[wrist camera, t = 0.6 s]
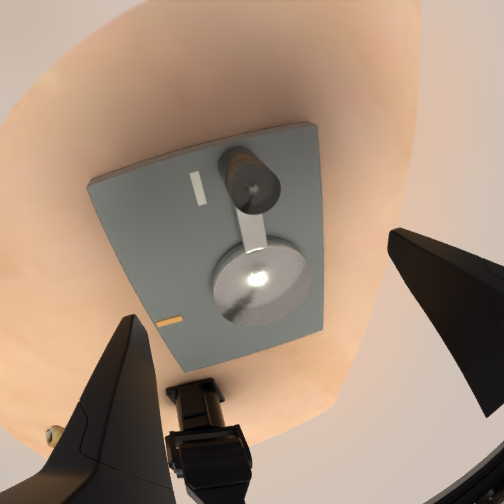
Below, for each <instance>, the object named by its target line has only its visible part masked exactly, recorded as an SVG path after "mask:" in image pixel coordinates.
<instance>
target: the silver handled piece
mask: <svg viewBox="0 0 504 504" xmlns="http://www.w3.org/2000/svg"><path fill="white" fill-rule="evenodd" d="M218 172H219V174H220V177H221V179H222V181H223V183H224V185H225V187H226V189H227V191H228V193H229V195H230V197H231V199H232V201H233V205H234V210H235V214H236V219H237V223H238V228H239V233H240V237H241V242H242V244H240V245H238V246H236V247H235V248H233V249H232V250H230V251H229V252H228V253H227V254H226V255H225V256H224V257H223V258H222V259H221V260H220V261H219V263H218V264H217V266H216V268H215V270H214V272H213V275H212V281H211V287H212V292H213V296H214V300H215V304H216V307H217V309H218V311H219V313H220V314H221V315H222V316H223V317H224V318H225V319H227V320H228V321H230V322H232V323H234V324H237V325H242V326H261V325H266V324H269V323H273V322H275V321H278V320H280V319H282V318H284V317H285V316H287V315H288V314H290V313H291V312H293V311H294V310H295V309H296V308H297V307H298V306H299V305H300V304H301V303H302V302H303V300H304V299H305V297H306V296H307V294H308V292H309V289H310V286H311V281H312V275H311V270H310V267H309V265H308V263H307V262H306V260H305V259H304V257H303V256H302V254H301V253H300V252H299V250H298V249H297V248H296V247H295V246H294V245H293V244H291V243H289V242H287V241H285V240H282V239H279V238H272V237H266V234H265V228H264V222H263V215H262V213H265V212H267V211H268V210H270V209H271V208H272V207H273V206H274V205H275V204H276V203H277V201H278V199H279V197H280V194H281V184H280V181H279V179H278V177H277V176H276V175H275V174H274V173H273V172H272V171H271V170H270V169H269V168H268V167H267V166H266V165H265V164H264V163H263V162H262V161H261V160H260V159H259V158H258V157H257V156H256V155H255V154H254V153H253V152H252V151H251V150H250V149H248V148H246V147H242V146H236V147H232V148H230V149H228V150H226V151H225V152H224V153H223V154H222V155H221V157H220V159H219V161H218Z"/></svg>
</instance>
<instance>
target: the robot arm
mask: <svg viewBox="0 0 504 504" xmlns="http://www.w3.org/2000/svg"><path fill="white" fill-rule="evenodd" d="M387 251H388V254H389V256H390V258H391V259H392V261H393V263H394V265H395V266H396V268H397V270H398V271H399V273H400V275H401V277H402V278H403V280H404V282H405V284H406V285H407V287H408V288H409V290H410V291H411V293H412V294H413V296H414V297H415V299H416V300H417V301H418V303H419V304H420V306H421V307H422V309H423V310H424V312H425V313H426V315H427V316H428V318H429V319H430V321H431V322H432V324H433V325H434V327H435V329H436V330H437V332H438V333H439V335H440V336H441V338H442V340H443V341H444V343H445V345H446V346H447V348H448V349H449V351H450V353H451V354H452V356H453V358H454V359H455V361H456V363H457V365H458V366H459V368H460V370H461V372H462V373H463V375H464V377H465V379H466V381H467V383H468V384H469V386H470V388H471V390H472V392H473V394H474V395H475V397H476V399H477V401H478V403H479V405H480V407H481V409H482V411H483V413H484V415H485V417H486V418H488V417H489V416H490V415H491V414H492V413H494V412H495V411H496V410H497V409H498V408H499V407H500V406H502V405H503V404H504V266H502V265H499V264H497V263H494V262H491V261H489V260H487V259H484V258H481V257H479V256H477V255H474V254H472V253H469V252H466V251H464V250H461V249H459V248H456V247H453V246H451V245H448V244H445V243H443V242H440V241H437V240H434V239H432V238H429V237H426V236H423V235H420V234H418V233H415V232H411V231H409V230H406V229H403V228H396V229H393V230H391V231H390V232H389V238H388V247H387ZM166 394H167V396H168V397H169V398H170V399H171V400H172V401H173V402H174V403H175V405H176V408H177V415H178V421H179V427H180V431H178V432H174V431H169V432H170V435H168V436H166V437H165V441H166V448H167V456H166V450H165V444H164V438H163V431H162V424H161V417H160V409H159V401H158V392H157V382H156V375H155V369H154V365H153V360H152V355H151V349H150V344H149V339H148V334H147V331H146V329H145V328H144V326H143V325H142V323H141V322H140V320H139V319H138V317H137V316H136V315H135V314H131V315H128V316H125V317H123V318H122V320H121V321H120V323H119V325H118V327H117V329H116V330H115V332H114V334H113V336H112V338H111V339H110V341H109V343H108V345H107V347H106V349H105V350H104V352H103V354H102V356H101V358H100V360H99V362H98V364H97V366H96V368H95V369H94V371H93V373H92V375H91V377H90V379H89V381H88V383H87V385H86V387H85V389H84V391H83V393H82V395H81V397H80V402H78V403H77V406H76V408H75V410H74V412H73V414H72V416H71V418H70V420H69V422H68V424H67V426H66V428H65V429H64V431H63V433H62V435H61V437H60V439H59V440H58V442H57V444H56V446H55V448H54V449H53V451H52V453H51V455H50V457H49V459H48V460H47V462H46V464H45V465H44V467H43V468H42V469H41V470H40V471H39V472H38V473H37V474H35V475H34V476H32V477H30V478H28V479H26V480H24V481H22V482H20V483H19V484H17V485H15V486H13V487H11V488H9V489H7V490H5V491H3V492H1V493H0V504H176V500H175V496H174V491H173V490H172V489H173V487H172V483H171V477H170V472H169V468H171V469H172V470H174V473H176V474H177V478H184V481H185V486H186V490H187V494H188V495H189V496H190V497H191V498H192V499H193V500H194V501H195V502H196V503H197V504H245V500H244V498H245V495H246V492H247V489H248V486H249V483H250V480H251V477H252V472H251V468H252V457H251V453H250V450H249V447H248V445H247V442H246V440H245V438H244V435H243V433H242V430H241V428H240V425H239V424H237V425H234V426H227V427H226V426H225V422H224V418H223V414H222V410H221V406H220V403H221V402H224V401H225V399H224V397H223V395H222V393H221V392H220V390H219V388H218V386H217V385H216V383H215V381H214V380H213V379H207V380H204V381H200V382H196V383H191V384H187V385H183V386H179V387H174V388H170V389H166ZM177 447H178V449H177ZM167 457H168V462H167ZM168 465H169V467H168ZM474 503H475V504H504V441H503V442H502V443H501V444H500V445H499V446H498V447H497V448H496V449H495V450H494V451H492V452H491V453H490V454H489V455H488V456H487V457H486V458H485V459H483V460H482V461H481V462H480V463H479V464H478V465H476V466H475V467H474V468H473V469H471V470H470V471H469V472H468V473H466V474H465V475H464V476H463V477H461V478H460V479H459V480H457V481H456V482H454V483H453V484H452V485H450V486H449V487H448V488H446V489H445V490H443V491H442V492H440V493H439V494H437V495H436V496H434V497H433V498H431V499H430V500H428V501H427V502H425V503H424V504H474Z"/></svg>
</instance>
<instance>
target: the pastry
mask: <svg viewBox="0 0 504 504" xmlns="http://www.w3.org/2000/svg"><path fill="white" fill-rule="evenodd" d="M63 431H64V428H62V427H58V426H53V427H51V429H50V431H48V432H47V433H46V438H47V443H48V445H49V447H54V448H55V446H56V444H57V442H58V440H59V439H60V437H61V435H62V433H63Z"/></svg>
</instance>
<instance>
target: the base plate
mask: <svg viewBox="0 0 504 504" xmlns="http://www.w3.org/2000/svg"><path fill="white" fill-rule="evenodd" d="M236 146H242V147H246V148H248V149H250V150H251V151H252V152H253V153H254V154H255V155H256V156H257V157H258V158H259V159H260V160H261V161H262V162H263V163H264V164H265V165H266V166H267V167H268V168H269V169H270V170H271V171H272V172H273V173H274V174H275V175H276V176H277V177H278V179H279V181H280V184H281V194H280V197H279V199H278V201H277V203H276V204H275V205H274V206H273V207H272V208H271V209H270V210H268V211H267V212H265V213H262V215H263V222H264V228H265V234H266V237H272V238H279V239H282V240H285V241H287V242H289V243H291V244H293V245H294V246H295V247H296V248H297V249H298V250H299V252H300V253H301V254H302V256H303V257H304V259H305V260H306V262H307V263H308V265H309V267H310V270H311V275H312V281H311V286H310V289H309V292H308V294H307V296H306V297H305V299H304V300H303V302H302V303H301V304H300V305H299V306H298V307H297V308H296V309H295V310H294V311H293V312H291V313H290V314H288V315H287V316H285V317H284V318H282V319H280V320H278V321H275V322H273V323H269V324H266V325H261V326H242V325H237V324H234V323H232V322H230V321H228V320H227V319H225V318H224V317H223V316H222V315H221V314H220V313H219V311H218V309H217V307H216V304H215V300H214V296H213V292H212V287H211V281H212V275H213V272H214V270H215V268H216V266H217V264H218V263H219V261H220V260H221V259H222V258H223V257H224V256H225V255H226V254H227V253H228V252H229V251H230V250H232V249H233V248H235V247H236V246H238V245H240V244H242V242H241V237H240V233H239V228H238V223H237V219H236V214H235V210H234V205H233V201H232V199H231V197H230V195H229V193H228V191H227V189H226V187H225V185H224V183H223V181H222V179H221V177H220V174H219V172H218V161H219V159H220V157H221V155H222V154H223V153H224V152H225V151H226V150H228V149H230V148H232V147H236ZM86 189H87V191H88V194H89V196H90V198H91V201H92V203H93V206H94V208H95V210H96V213H97V215H98V217H99V219H100V222H101V224H102V226H103V228H104V230H105V233H106V235H107V237H108V239H109V241H110V243H111V245H112V247H113V249H114V251H115V254H116V256H117V258H118V260H119V262H120V264H121V266H122V267H123V269H124V271H125V273H126V275H127V277H128V279H129V281H130V283H131V285H132V287H133V288H134V290H135V292H136V294H137V296H138V298H139V299H140V301H141V303H142V305H143V306H144V308H145V310H146V312H147V313H148V315H149V317H150V319H151V320H152V322H153V324H154V325H155V327H156V329H157V330H158V332H159V334H160V335H161V337H162V339H163V340H164V342H165V343H166V345H167V347H168V348H169V350H170V351H171V353H172V354H173V356H174V357H175V359H176V361H177V362H178V364H179V365H180V367H181V368H182V370H183V371H184V372H188V371H192V370H196V369H200V368H203V367H207V366H211V365H215V364H218V363H222V362H225V361H229V360H232V359H236V358H239V357H243V356H246V355H249V354H253V353H256V352H259V351H262V350H265V349H269V348H272V347H275V346H278V345H281V344H284V343H287V342H290V341H293V340H295V339H298V338H301V337H304V336H307V335H310V334H312V333H315V332H318V331H321V330H323V306H324V243H323V208H322V186H321V169H320V154H319V141H318V129H317V125H315V124H313V123H310V122H302V123H296V124H290V125H284V126H279V127H273V128H268V129H263V130H258V131H254V132H249V133H244V134H240V135H235V136H231V137H227V138H223V139H219V140H214V141H211V142H207V143H203V144H199V145H195V146H192V147H188V148H184V149H181V150H177V151H174V152H171V153H167V154H164V155H161V156H158V157H154V158H151V159H148V160H145V161H142V162H139V163H136V164H133V165H130V166H127V167H124V168H121V169H119V170H116V171H113V172H110V173H108V174H105V175H102V176H100V177H97V178H94V179H92V180H91V181H90V182H89V184H88V185H87V187H86Z"/></svg>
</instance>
